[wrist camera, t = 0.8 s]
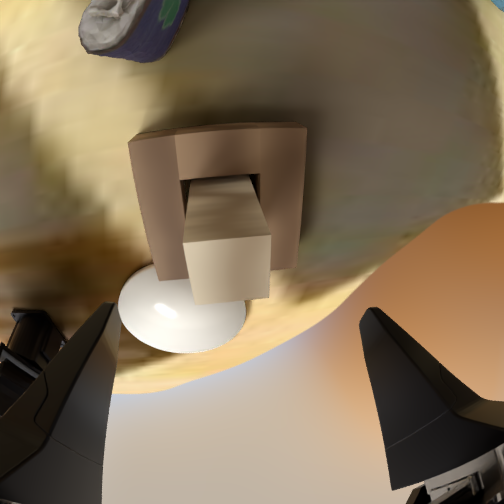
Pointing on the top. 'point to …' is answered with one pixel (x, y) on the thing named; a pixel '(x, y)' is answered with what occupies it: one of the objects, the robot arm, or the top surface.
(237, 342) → the top surface
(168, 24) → the flask
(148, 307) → the plate
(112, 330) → the robot arm
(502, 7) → the teapot
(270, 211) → the holder
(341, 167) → the top surface
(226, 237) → the block
